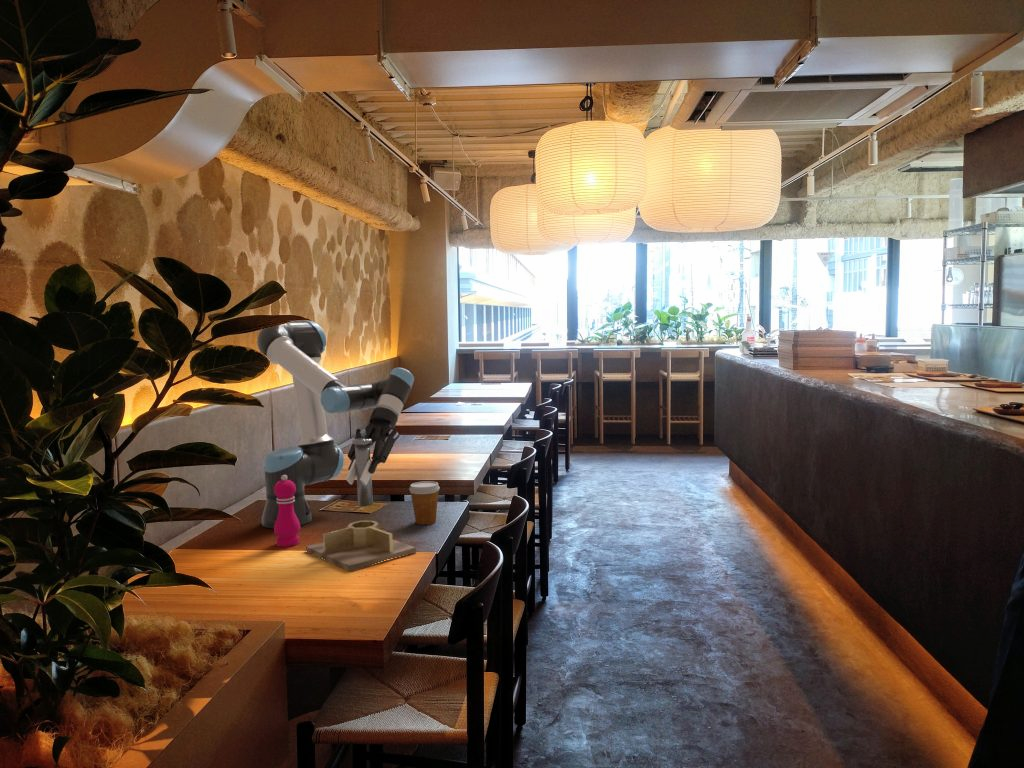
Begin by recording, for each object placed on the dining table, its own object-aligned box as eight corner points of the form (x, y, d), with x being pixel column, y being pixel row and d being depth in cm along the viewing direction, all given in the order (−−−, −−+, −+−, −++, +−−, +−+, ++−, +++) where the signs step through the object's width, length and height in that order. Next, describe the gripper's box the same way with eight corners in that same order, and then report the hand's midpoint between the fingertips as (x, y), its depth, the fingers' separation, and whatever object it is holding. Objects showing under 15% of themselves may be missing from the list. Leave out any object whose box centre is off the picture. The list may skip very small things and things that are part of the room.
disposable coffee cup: (413, 518, 228) (411, 481, 227) (443, 517, 228) (441, 480, 227) (407, 526, 219) (406, 488, 218) (438, 526, 219) (437, 487, 218)
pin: (352, 505, 198) (348, 439, 196) (368, 501, 201) (365, 437, 200) (362, 508, 194) (358, 441, 192) (378, 504, 197) (375, 439, 196)
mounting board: (305, 551, 197) (305, 546, 197) (368, 535, 210) (368, 530, 210) (350, 571, 179) (349, 565, 179) (415, 552, 193) (415, 547, 193)
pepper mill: (296, 547, 201) (292, 477, 200) (271, 547, 202) (267, 477, 200) (304, 539, 209) (300, 471, 207) (279, 540, 209) (276, 472, 207)
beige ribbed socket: (317, 549, 194) (316, 531, 193) (368, 536, 205) (368, 519, 204) (351, 563, 181) (350, 544, 180) (404, 549, 191) (403, 531, 191)
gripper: (416, 422, 207) (388, 491, 193) (367, 421, 213) (336, 488, 199) (406, 405, 201) (376, 475, 187) (355, 405, 208) (323, 473, 194)
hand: (356, 481), depth 193 cm, fingers closed on pin, 4 cm apart
